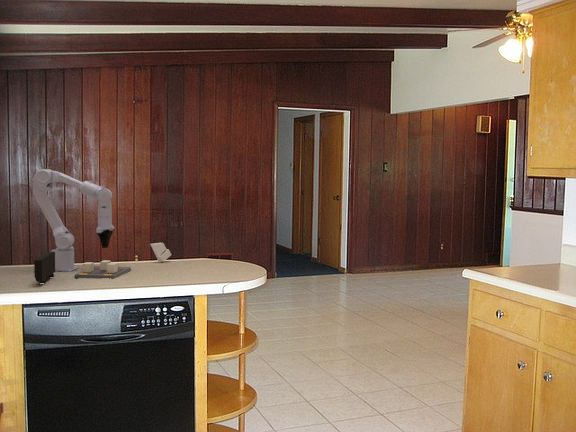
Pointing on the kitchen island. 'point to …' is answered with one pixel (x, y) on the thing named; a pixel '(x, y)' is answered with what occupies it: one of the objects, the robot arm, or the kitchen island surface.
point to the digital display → (44, 266)
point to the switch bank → (102, 273)
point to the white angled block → (161, 251)
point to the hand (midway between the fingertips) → (105, 247)
